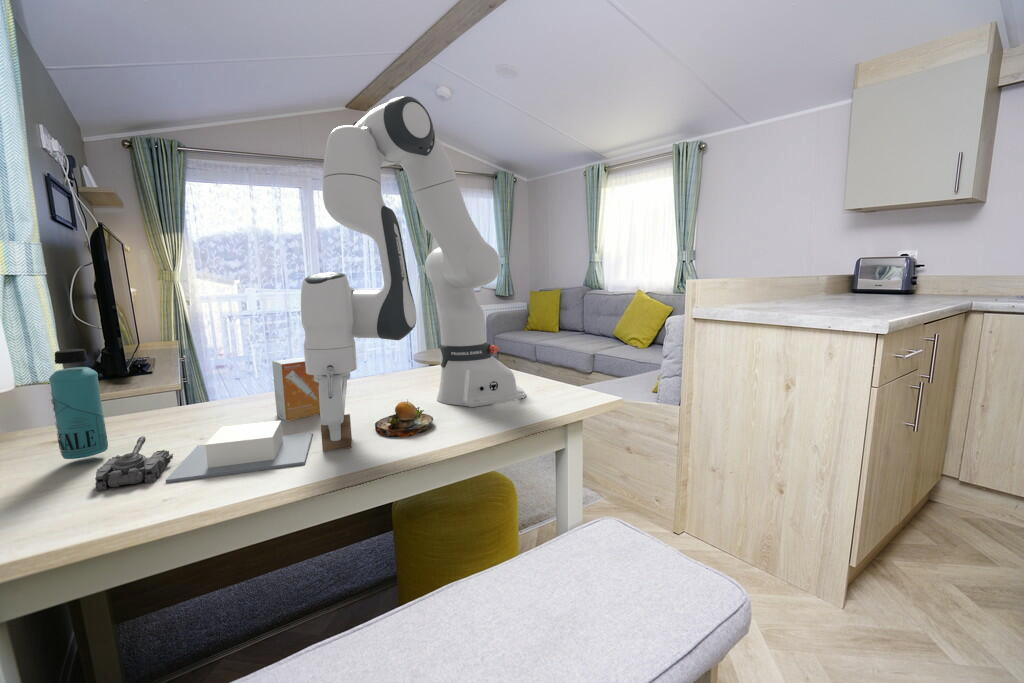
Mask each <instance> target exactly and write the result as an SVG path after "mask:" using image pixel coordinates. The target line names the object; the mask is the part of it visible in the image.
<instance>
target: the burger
mask: <svg viewBox="0 0 1024 683" xmlns="http://www.w3.org/2000/svg"><path fill="white" fill-rule="evenodd" d="M424 411H425V410H424V409H423V410H422V409H420V406H419V407H416V406H415V405H414V404H413V403H411V402H410V401H409V400H407V401H400V402H399V403H397V405H396V406H395V408H394V412H395V413H393V414H392V415H388V416H386V417H383V418H380V419H378V420H377V421H376V422H375V423H374V429H375V430H374V431H376V433H377V434H380V435H381V436H382V437H387V438H388V437H390V436H392V437H394V436H397V437H399V438H407V437H409V436H410V435H411V437H412V436H416V435H420V434H424V433H426V432H429V431H431V430H432V428H433V426H432V425H433V424H432V423H433V421H434V417H433V416H431V415H430V414H427V413H424Z"/></svg>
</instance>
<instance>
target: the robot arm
mask: <svg viewBox="0 0 1024 683" xmlns="http://www.w3.org/2000/svg"><path fill="white" fill-rule="evenodd" d="M395 164H399V165H400V167H401V169H403V170H404V172H405V174H406V177H407V182H408V184H409V189H410V191H411V193H412V194H411V195H412V198H413V201H414V202H415V206H416V209H417V211H418V215H419V218H420V221H421V223H422V226H423V227H424V228H425V230H427V232H429V233H430V235H431V236H432V237H433V239H434V240H435V242H436V243H437V245H438V247H437V248H435V249H433V250H432V251H431V252H429V254H428V255H427V257H426V260H425V261H424V270H425V274H426V276H427V278H428V280H430V282H431V285H432V288H433V292H434V296H435V300H436V303H437V307H438V314H439V323H440V324H439V325H440V326H439V327H440V344H439V349H438V350H439V364H440V367H441V370H440V380H439V381H440V382H439V387H438V388H439V389H438V393H437V396H436V400H437V401H438V402H440V403H442V404H446V405H454V406H455V405H456V406H463V407H468V408H476V407H481V406H487V405H494V404H501V403H506V402H511V401H510V400H512V401H516V400H515V399H518V400H522V399H521V398H523V399H525V398H526V391H525V390H524V389H523V388H522V387H519V386H517V381H516V378H515V375H514V372H513V371H512V369H511V368H509V367H508V366H506V364H505V365H504V363H502V362H501V361H500V360H498V359H497V358H495V357H494V356H493V355H494V354H497V353H498V352H499V351H500V350H499V347H498V346H497V345H495V344H490V343H488V342H486V330H485V328H486V327H485V322H486V321H485V312H484V309H483V308H482V307H481V305H480V304H479V301H478V298H477V296H476V292H475V289H479V288H481V287H485V286H487V285H489V284H491V283H493V282H494V281H495V280H496V279H497V277H498V276H499V273H500V269H501V260H500V256H499V254H498V252H497V250H496V249H495V248H494V247H493V246H491V245H490V244H489V243H488V242H487V241H486V240H485V239H484V237H483V236H482V235H481V233H480V231H479V229H478V228H477V226H476V225H475V223H474V221H473V219H472V217H471V215H470V214H469V211H468V209H467V206H466V203H465V199H464V197H463V194H462V190H461V188H460V184H459V181H458V177H457V175H456V170H454V167H453V164H452V161H451V159H450V157H449V155H448V153H447V150H446V149H445V147H444V145H443V143H442V142H441V140H440V139H438V138H437V137H436V135H435V129H434V124H433V121H432V118H431V116H430V114H429V112H428V110H427V109H426V107H425V106H424V105H423V104H422V103H421V102H420V101H419V100H418V99H416V98H414V97H413V96H398V97H394V98H391V99H390V100H389V101H388V102H384V103H382V104H380V105H378V106H377V107H375V108H373V109H371V110H370V111H369V112H368V113H367V114H365V115H364V116H363V117H362V118H361V119H359V120H357V121H355V122H354V123H353V124H352V125H350V124H347V125H345V124H344V125H340V126H338V127H336V128H334V129H332V131H331V132H330V133H329V136H328V137H327V142H326V146H325V152H324V159H323V168H322V200H323V205H324V208H325V210H326V211H327V213H328V215H330V217H331V218H332V219H333V220H335V221H336V223H338V224H340V225H341V226H343V227H346V228H347V229H350V230H352V231H355V232H358V233H360V234H364V235H366V236H368V237H370V238H371V239H373V241H375V244H376V246H377V248H378V253H379V260H380V267H381V271H382V278H383V283H384V284H383V287H382V288H381V289H355V288H353V287H352V286H350V283H349V279H348V277H347V275H346V274H345V273H342V272H335V271H326V272H321V273H320V272H318V273H314V274H310V275H308V276H306V277H305V278H304V279H303V280H302V284H301V290H300V316H301V317H300V318H301V324H302V328H303V331H304V336H305V338H304V342H303V354H304V357H305V367H306V373H307V374H309V375H314V381H315V382H317V383H319V405H320V414H319V417H320V424H321V423H322V425H328V427H329V431H330V439H331V441H338V440H340V439H341V423H343V421H344V415H345V411H346V410H345V408H346V395H347V387H348V383H347V382H348V380H350V379H351V372H355V371H356V370H357V369H358V365H357V362H358V361H357V350H356V349H357V348H356V340H355V338H357V339H381V340H390V341H400V340H403V339H404V338H405V337H407V336H408V335H409V334H410V333H411V332H412V331H413V330H414V328H415V327H416V322H417V310H416V304H415V300H414V297H413V294H412V290H411V285H410V279H409V273H408V268H407V260H406V254H405V248H404V244H403V239H402V233H401V229H400V224H399V221H398V217H397V216H396V214H395V211H394V209H393V210H392V208H390V207H388V206H386V203H385V201H384V199H383V193H382V180H381V178H382V177H381V176H382V175H381V169H384V168H385V167H389V166H392V165H395ZM524 397H525V398H524Z"/></svg>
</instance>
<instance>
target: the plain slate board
mask: <svg viewBox="0 0 1024 683" xmlns="http://www.w3.org/2000/svg"><path fill="white" fill-rule="evenodd" d="M313 434H314V433H313V432H305V433H294V434H286V435H283V442H282V444H281V446H280V448H279V451H278V453H277V455H276V458H275V459H274V460H266V461H258V462H250V463H242V464H235V465H227V466H219V467H211V468H208V464H207V456H206V447H205V444H200V445H196V447H195V448H194V449H193V450H192V451H191V452H190V453H189V454H188V455H187V456H186V457H185V458H184V460H182V461H181V463H180V464H179V465H178V466H177V467H176V468H175V469H174V470H173V472H172V473H170V474H169V475H168V477H167V478H165V483H166V484H169V483H175V482H176V483H177V482H183V481H190V480H197V479H206V478H212V477H213V478H214V477H220V476H229V475H234V474H243V473H249V472H250V473H251V472H258V471H259V472H260V471H265V470H274V469H281V468H289V467H296V466H302V465H306V461H307V458H308V454H309V450H310V446H311V442H312V439H313V436H314V435H313Z"/></svg>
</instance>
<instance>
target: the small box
mask: <svg viewBox="0 0 1024 683" xmlns="http://www.w3.org/2000/svg"><path fill="white" fill-rule="evenodd" d="M271 363H272V374H273V375H272V376H273V385H274V388H273V389H274V400H275V407H276V409H275V410H276V411H275V412H276V416H277V417H278V418H280V419H281V420H283V421H284V422H289V421H294V420H299V419H302V418H306V417H307V418H308V417H311V416H312V417H313V416H316V415H320V405H319V383H317V382H315V381H314V375H309V374H307V373H306V367H305V356H302V357H295V358H294V357H292V358H287V359H280V360H279V359H278V360H272V362H271Z"/></svg>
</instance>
